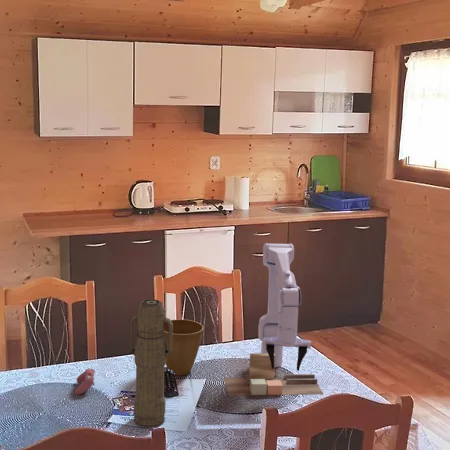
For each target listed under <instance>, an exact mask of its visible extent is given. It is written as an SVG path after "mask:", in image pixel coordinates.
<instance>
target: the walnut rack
mask: <svg viewBox="0 0 450 450" xmlns="http://www.w3.org/2000/svg"><path fill="white" fill-rule="evenodd" d="M315 376H316V375H315V374H314V373H296V374H295V373H293V374H292V373H290V374H288V373H286V374H284V375H283V377H277V375H276V373H275V375H274V379H265V381H266V380H280V381H281V383H282V385H283V389H282V395H281V396H295V395H296V396H299V395H301V396H303V395H310V396H311V395H324V392H323V391H322V389H321V387H320V385H319V384H318V378H315ZM223 379H224V383H225V387H226V391H227V395H228V397H229V396H233V397H234V396H235V397H236V396H237V397H238V396H239V397H240V396H241V397H242V396H247V397H248V396H252V395H251V392H250V379H249V374H245V377H224V378H223ZM265 396H268V395H267V392H266V395H265Z"/></svg>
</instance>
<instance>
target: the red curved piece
mask: <svg viewBox="0 0 450 450" xmlns="http://www.w3.org/2000/svg"><path fill="white" fill-rule="evenodd" d="M95 373H96V370H95V369H93V368H89V367H88V368H87V369H85V371H83V372H82V373H80V375H78V376H77V377H76V382H77V383H78V384H79V385H78V386H77V387H76V388H75V390H74V394H76V395H82V394H83V393H84V394H85V393H86V392H87V391H89V390H90V389H91V387H93V386H95V378H94V376H95Z"/></svg>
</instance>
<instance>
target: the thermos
mask: <svg viewBox="0 0 450 450" xmlns="http://www.w3.org/2000/svg"><path fill="white" fill-rule="evenodd" d="M171 320H172V319H170V318H167V317H166V310H165V307H164V304H163V302H162V301H161V300H158V299H150V298H149V299H145V300H142V301H140V303H139V307H138V308H137V315H136V316H133V317H132V318H131V320H130V321H129V354H133V355H132V356H134V364H135V366H136V367H135V370H136V371H135V398H134V401H133V415H134V418H133V422H134V423H135V424H134V425H136V426H138V427H141V428H145V429H146V428H147V429H149V428H151V429H152V427H153V428H158V427H160V426H162V425H163V424H164V423H165V420H166V418H165V414H166V405H167V404H166V397H165V366H166V356H168V355H169V354H171V352H172V331H173V323H172V321H171ZM134 322H135V323H137V327H136V329H137V335H136V338H135V339H136V340H135V342H134V344H133V341H134V340H133V333H134V332H133V331H134V329H133V328H134V327H133V326H134V325H133V324H134ZM165 323H167V324H168V325H169V338H168V351H167V349H166V346H167V343H166V340H165V333H164V330H165ZM133 345H134V347H133Z"/></svg>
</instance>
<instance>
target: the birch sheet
mask: <svg viewBox="0 0 450 450" xmlns="http://www.w3.org/2000/svg"><path fill="white" fill-rule="evenodd" d="M248 366H249V369H248V375H249V379H274V375H275V374H276V373H275V371H276V367H275V354H274V369H272V366H271V361H270V357H269V355H268V353H261V352H260V353H249V365H248Z"/></svg>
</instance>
